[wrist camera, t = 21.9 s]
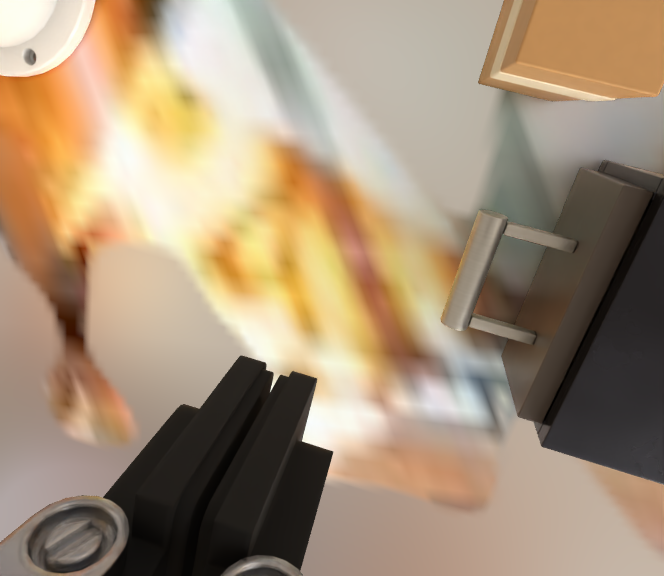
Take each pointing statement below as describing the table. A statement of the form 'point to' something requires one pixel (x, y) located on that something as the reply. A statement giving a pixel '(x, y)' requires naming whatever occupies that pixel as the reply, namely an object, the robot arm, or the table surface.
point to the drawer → (551, 283)
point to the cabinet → (620, 359)
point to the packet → (578, 49)
